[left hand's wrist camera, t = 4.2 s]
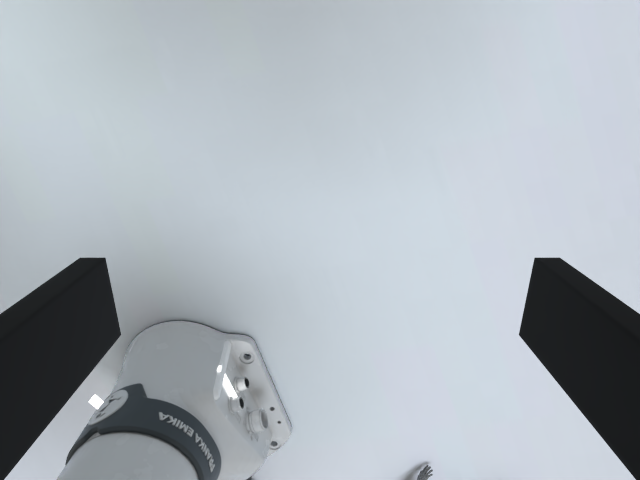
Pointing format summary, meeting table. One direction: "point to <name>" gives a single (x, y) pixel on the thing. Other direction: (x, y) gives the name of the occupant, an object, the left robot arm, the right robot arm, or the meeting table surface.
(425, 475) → the figurine
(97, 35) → the meeting table surface
